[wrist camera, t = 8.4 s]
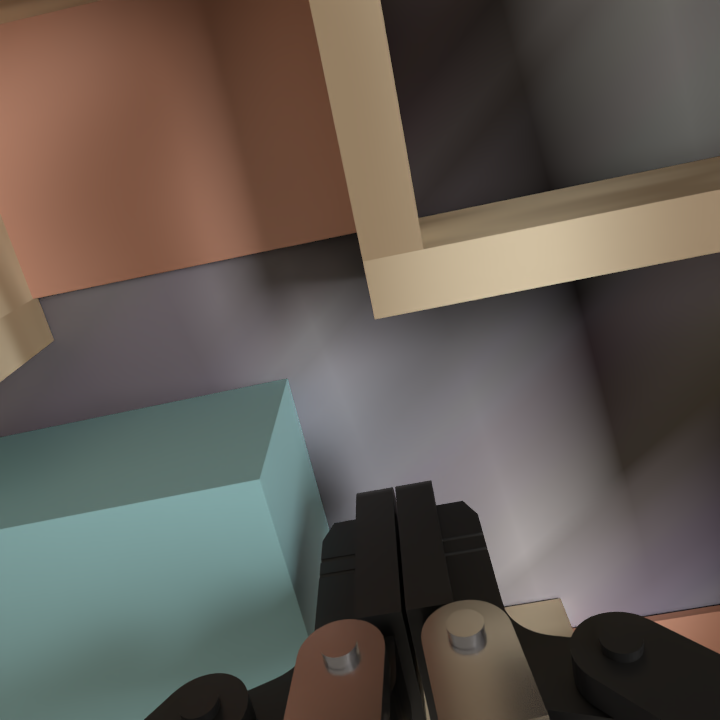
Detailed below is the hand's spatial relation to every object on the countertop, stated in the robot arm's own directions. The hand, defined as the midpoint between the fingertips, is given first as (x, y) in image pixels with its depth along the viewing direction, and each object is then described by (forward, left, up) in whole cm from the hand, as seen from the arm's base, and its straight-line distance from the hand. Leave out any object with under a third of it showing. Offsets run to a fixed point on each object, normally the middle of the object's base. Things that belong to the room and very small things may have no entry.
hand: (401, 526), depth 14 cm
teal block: (+5, 0, -3) cm, 6 cm away
